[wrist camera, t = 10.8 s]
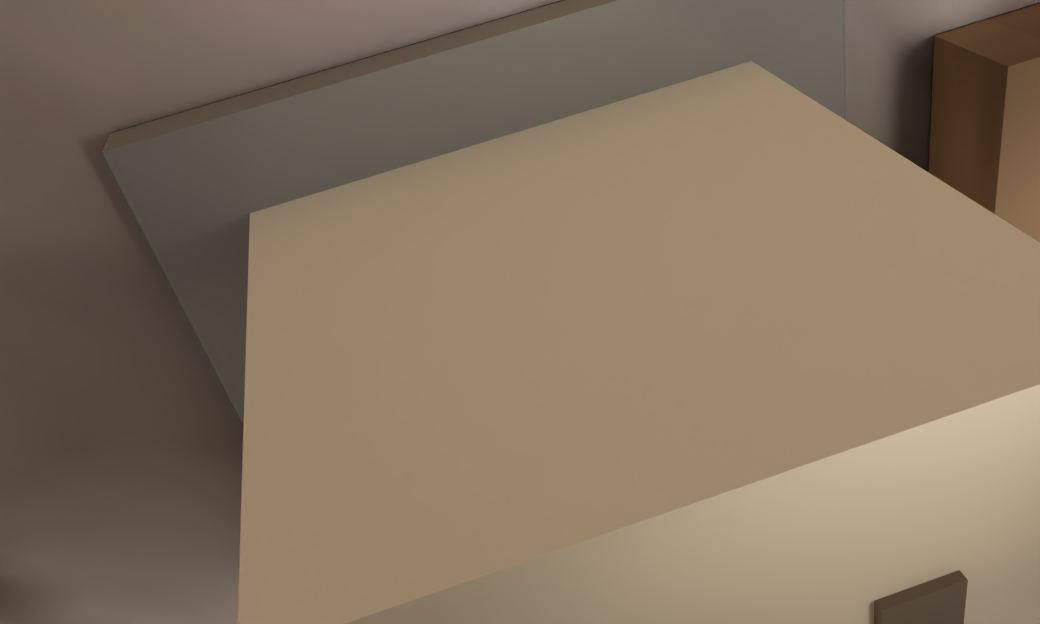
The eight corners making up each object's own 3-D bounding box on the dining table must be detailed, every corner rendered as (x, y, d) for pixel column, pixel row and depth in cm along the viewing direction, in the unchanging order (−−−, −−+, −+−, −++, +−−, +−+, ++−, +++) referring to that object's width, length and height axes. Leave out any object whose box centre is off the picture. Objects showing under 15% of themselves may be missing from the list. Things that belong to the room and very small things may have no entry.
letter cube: (784, 434, 15) (1080, 821, 10) (403, 564, 15) (485, 1054, 9) (759, 58, 11) (1210, 337, 6) (249, 213, 11) (236, 675, 5)
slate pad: (831, 445, 16) (849, 467, 16) (350, 610, 16) (353, 638, 15) (817, -75, 11) (842, -67, 11) (109, 133, 11) (101, 151, 10)
